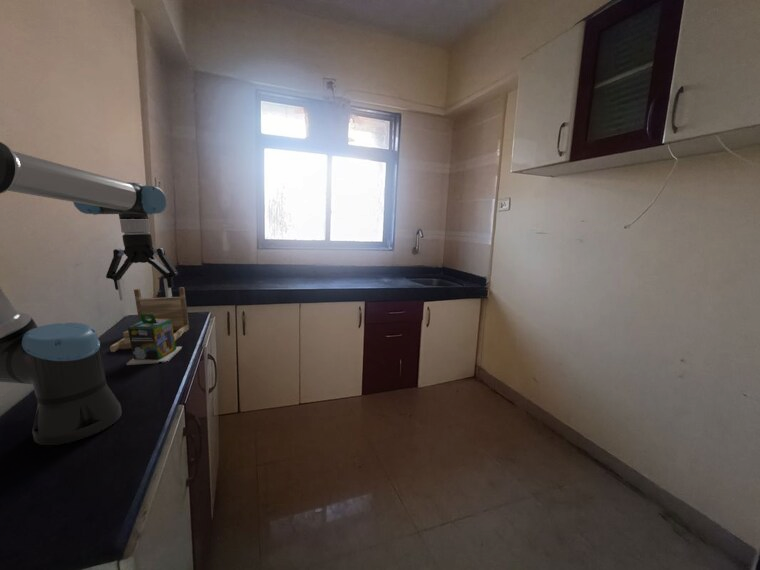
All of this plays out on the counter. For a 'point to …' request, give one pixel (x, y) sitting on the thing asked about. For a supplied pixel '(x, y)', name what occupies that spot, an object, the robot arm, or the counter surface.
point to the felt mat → (147, 361)
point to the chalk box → (151, 338)
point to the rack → (162, 312)
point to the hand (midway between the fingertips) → (146, 298)
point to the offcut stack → (126, 341)
